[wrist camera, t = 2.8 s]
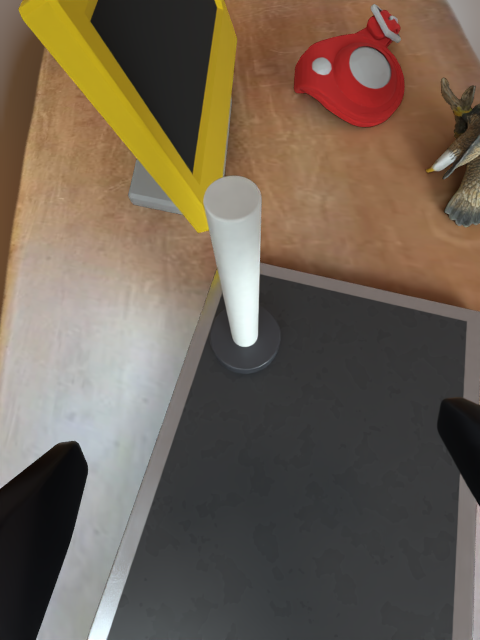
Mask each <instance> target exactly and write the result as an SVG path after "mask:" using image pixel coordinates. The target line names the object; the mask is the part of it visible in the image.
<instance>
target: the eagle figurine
mask: <svg viewBox="0 0 480 640" xmlns="http://www.w3.org/2000/svg"><path fill="white" fill-rule="evenodd" d="M475 87H476V86H470V87H469V88H468V89H467V90H466V91H465V92H464V93H463V95H462V97H461V99H458V98H457V97H456V96H455V95H454V94H453V92H452V91H451V89H450V88H449V84H448V81H447V79H446V78H442V79H441V93H442V96H443V98H444V99H445V101H446V102H447V103H448V104H449V105H450V106H451V109H452V110H453V113H454V115H455V121H456V124H455V129H454V133H455V134H454V137H455V138H456V140H455V141H454V142H453V143H452V144H451V145H450V147H449V148H448V149H447V150H446V151H445V152H444V153H443V154H442V155H441V156H440V157H439V158H438V159H437V160H436V162H435V163H434V164H433V165H432V166H431V167H430V168H429V169H427V170H426V172H427V173H429V172H432V171H441V170H443V169H444V168H446V167H447V166H449V165H450V164H452V163H453V165H452V167H451V168H450V169H449V170H448V171H447V172H446V173H445V174H444V176H443V178H442V179H445V178H447V177H448V176H449V175H450V174H451V173H452V172H453V171H454V170H455V168H457V167H459V166H462V165H464V164H466V172H465V175H464V177H463V180H462V183H461V185H460V187H459V189H458V190H457V192H456V193H455V194H454V196H453V197H452V198H451V200H450V202H449V203H448V204H447V206H446V208H445V213H447V214H449V218H450V220H455V222H456V224H457V225H459V226H460V225H463V226H464V227H469V226H470V225H471V224H474V225H478V224H479V223H480V104H478V105H476V106H475V107H474V108H473V109H472V108H471V104H472V102H473V99H474V93H475Z"/></svg>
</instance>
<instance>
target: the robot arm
mask: <svg viewBox="0 0 480 640" xmlns="http://www.w3.org/2000/svg"><path fill="white" fill-rule="evenodd" d="M437 430H438V433H439V435H440V437H441V439H442V441H443V443H444V444H445V446H446V448H447V450H448V452H449V454H450V455H451V457H452V459H453V461H454V463H455V465H456V466H457V468H458V470H459V472H460V474H461V475H462V477H463V479H464V481H465V483H466V485H467V486H468V488H469V490H470V491H471V493H472V495H473V496H474V498H475V499H476V501H477V502H478V504H479V505H480V405H479V404H476V403H474V402H472V401H470V400H467V399H465V398H463V397H452V398H445V399H443V400H442V401H441V404H440V409H439V415H438V420H437ZM87 475H88V465H87V462H86V460H85V457H84V455H83V452H82V450H81V448H80V445H79V443H77V442H76V441H69V442H61V443H58V444H56V445H55V446H54V447H53V448H51V449H50V450H49V451H48V452H46V453H45V454H44V455H42V456H41V457H40V458H39V459H37V460H36V461H35V462H34V463H32V464H31V465H30V466H29V467H27V468H26V469H25V470H23V471H22V472H21V473H20V474H18V475H17V476H16V477H15V478H13V479H12V480H11V481H10V482H8V483H7V484H6V485H4V486H3V487H2V488H1V489H0V640H36V638H37V635H38V632H39V629H40V627H41V624H42V621H43V618H44V615H45V612H46V610H47V607H48V604H49V601H50V598H51V596H52V593H53V590H54V587H55V584H56V581H57V579H58V576H59V573H60V570H61V567H62V565H63V562H64V559H65V556H66V553H67V550H68V547H69V544H70V541H71V538H72V534H73V531H74V527H75V523H76V519H77V515H78V511H79V507H80V503H81V499H82V495H83V491H84V487H85V483H86V479H87Z"/></svg>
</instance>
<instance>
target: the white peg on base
mask: <svg viewBox="0 0 480 640" xmlns="http://www.w3.org/2000/svg"><path fill="white" fill-rule="evenodd" d="M261 202H262V198H261V193H260V190H259V189H258V187H257V186H256V184H255V183H254V182H252V181H251V180H249V179H247V178H245V177H241V176H226V177H222V178H220V179H218V180H216V181H214V182H213V183H212V184H211V185H210V186H209V187H208V188H207V190H206V192H205V195H204V199H203V203H204V208H205V213H206V218H207V222H208V227H209V231H210V236H211V241H212V245H213V250H214V255H215V259H216V264H217V269H218V273H219V278H220V282H221V287H222V292H223V296H224V301H225V306H226V309H224V310H223V311H222V312H221V313H220V314H219V315H218V316H217V317H216V319H215V320H214V322H213V324H212V327H211V330H210V343H211V347H212V350H213V352H214V354H215V356H216V358H217V359H218V361H219V362H220V363H221V364H222V365H223V366H224V367H226V368H227V369H229V370H231V371H233V372H236V373H242V374H249V373H255V372H258V371H260V370H262V369H264V368H265V367H267V366H268V365H269V364H270V363H271V362H272V361H273V359H274V358H275V356H276V354H277V352H278V349H279V345H280V338H281V334H280V328H279V325H278V322H277V321H276V319H275V317H274V316H273V315H272V314H271V313H270V312H269V311H268V310H267V309H265V308H263V307H261V306H259V277H260V240H261Z"/></svg>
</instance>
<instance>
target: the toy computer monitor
mask: <svg viewBox="0 0 480 640" xmlns="http://www.w3.org/2000/svg"><path fill="white" fill-rule="evenodd" d="M19 12H20V15H21V17H22V19H23V20H24V22H25V23H26V24H27V25H28V27H29V28H30V29H31V30H32V31H33V33H34V34H35V35H36V36H37V37H38V39H39V40H40V41H41V42H42V44H43V45H44V46H45V47H46V48H47V50H48V51H49V52H50V53H51V55H52V56H53V57H54V58H55V59H56V61H57V62H58V63H59V64H60V65H61V67H62V68H63V69H64V70H65V72H66V73H67V74H68V75H69V76H70V78H71V79H72V80H73V81H74V83H75V84H76V85H77V86H78V87H79V89H80V90H81V91H82V92H83V93H84V95H85V96H86V97H87V98H88V100H89V101H90V102H91V103H92V104H93V106H94V107H95V108H96V109H97V110H98V112H99V113H100V114H101V115H102V117H103V118H104V119H105V120H106V121H107V123H108V124H109V125H110V126H111V128H112V129H113V130H114V131H115V132H116V134H117V135H118V136H119V137H120V138H121V140H122V141H123V142H124V143H125V145H126V146H127V147H128V148H129V149H130V151H131V152H132V153H133V154H134V155H135V157H136V158H137V160H136V164H135V168H134V173H133V177H132V181H131V186H130V190H129V194H128V196H129V198H130V200H131V202H132V203H133V205H138V206H143V207H148V208H153V209H157V210H162V211H167V212H172V213H177V214H182V215H184V216H185V218H186V219H187V220H188V221H189V222H190V224H191V225H192V226H193V227H194V228H195V230H196V231H197V232H198V233H200V232H205V231H209V227H208V222H207V218H206V213H205V208H204V203H203V199H204V195H205V192H206V190H207V188H208V187H209V186H210V185H211V184H212V183H213V182H214V181H216V180H218V179H220V178H222V177H224V175H225V165H226V155H227V145H228V136H229V126H230V116H231V106H232V96H231V92H232V83H233V73H234V64H235V54H236V45H237V37H236V34H235V31H234V28H233V25H232V22H231V19H230V16H229V13H228V10H227V8H226V5H225V2H224V0H23V1H22V3H21V5H20V7H19Z"/></svg>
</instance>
